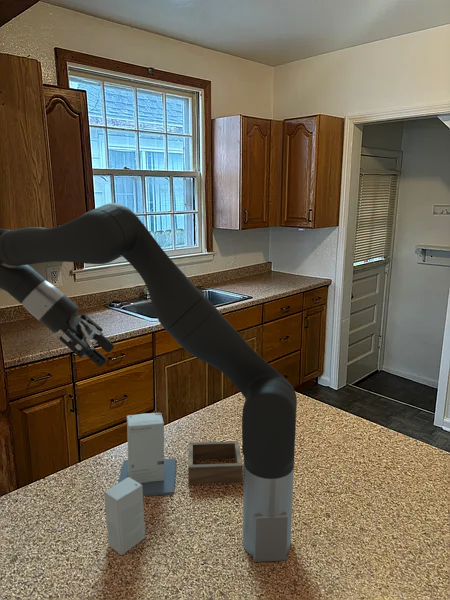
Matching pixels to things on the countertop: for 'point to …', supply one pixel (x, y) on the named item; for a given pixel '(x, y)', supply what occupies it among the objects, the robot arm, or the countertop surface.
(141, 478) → the skincare box
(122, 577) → the countertop surface
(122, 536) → the skincare box
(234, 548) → the countertop surface
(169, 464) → the slate mat
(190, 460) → the holder collar
